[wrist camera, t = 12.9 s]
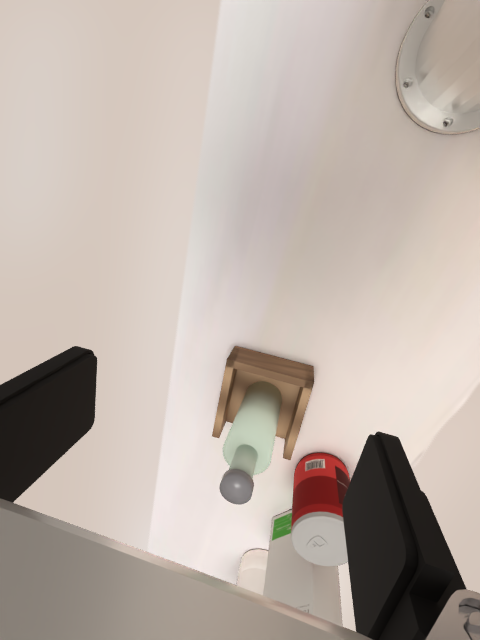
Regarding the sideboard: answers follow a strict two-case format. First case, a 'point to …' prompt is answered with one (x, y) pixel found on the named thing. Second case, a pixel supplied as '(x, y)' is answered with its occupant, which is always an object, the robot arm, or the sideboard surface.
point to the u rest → (280, 372)
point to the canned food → (319, 510)
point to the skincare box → (300, 576)
